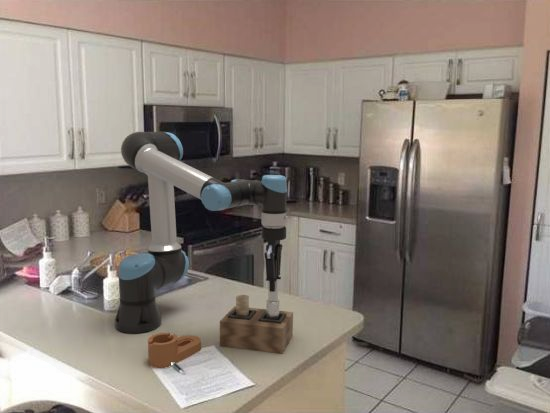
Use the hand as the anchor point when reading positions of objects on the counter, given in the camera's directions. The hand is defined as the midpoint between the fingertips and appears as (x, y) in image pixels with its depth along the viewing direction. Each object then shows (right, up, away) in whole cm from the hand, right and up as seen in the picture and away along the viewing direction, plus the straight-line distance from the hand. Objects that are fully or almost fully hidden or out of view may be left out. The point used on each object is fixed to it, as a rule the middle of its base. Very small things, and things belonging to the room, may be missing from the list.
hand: (273, 300), depth 156 cm
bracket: (-29, -15, -7) cm, 34 cm away
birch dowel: (-10, -7, +4) cm, 13 cm away
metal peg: (0, -8, +1) cm, 8 cm away
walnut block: (-5, -13, +3) cm, 15 cm away
